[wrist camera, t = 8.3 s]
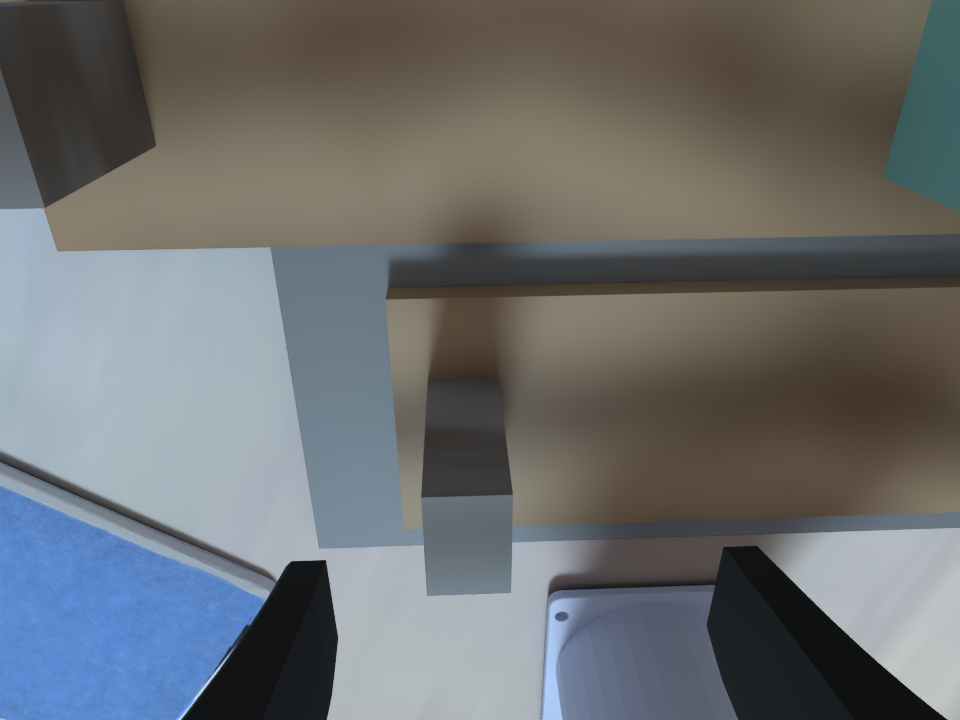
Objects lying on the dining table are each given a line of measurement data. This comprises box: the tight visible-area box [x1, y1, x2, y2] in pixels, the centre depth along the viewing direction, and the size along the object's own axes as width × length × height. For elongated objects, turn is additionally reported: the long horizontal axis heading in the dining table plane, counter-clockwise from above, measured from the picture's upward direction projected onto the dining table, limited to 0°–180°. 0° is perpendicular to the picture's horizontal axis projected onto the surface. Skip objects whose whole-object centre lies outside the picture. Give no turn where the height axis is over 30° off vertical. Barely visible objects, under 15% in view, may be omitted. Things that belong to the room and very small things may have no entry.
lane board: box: [271, 234, 960, 548], centre depth 19 cm, size 20×34×1 cm, turn 90°
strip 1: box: [0, 0, 960, 251], centre depth 14 cm, size 8×28×6 cm, turn 90°
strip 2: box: [385, 276, 960, 596], centre depth 19 cm, size 8×28×6 cm, turn 90°
